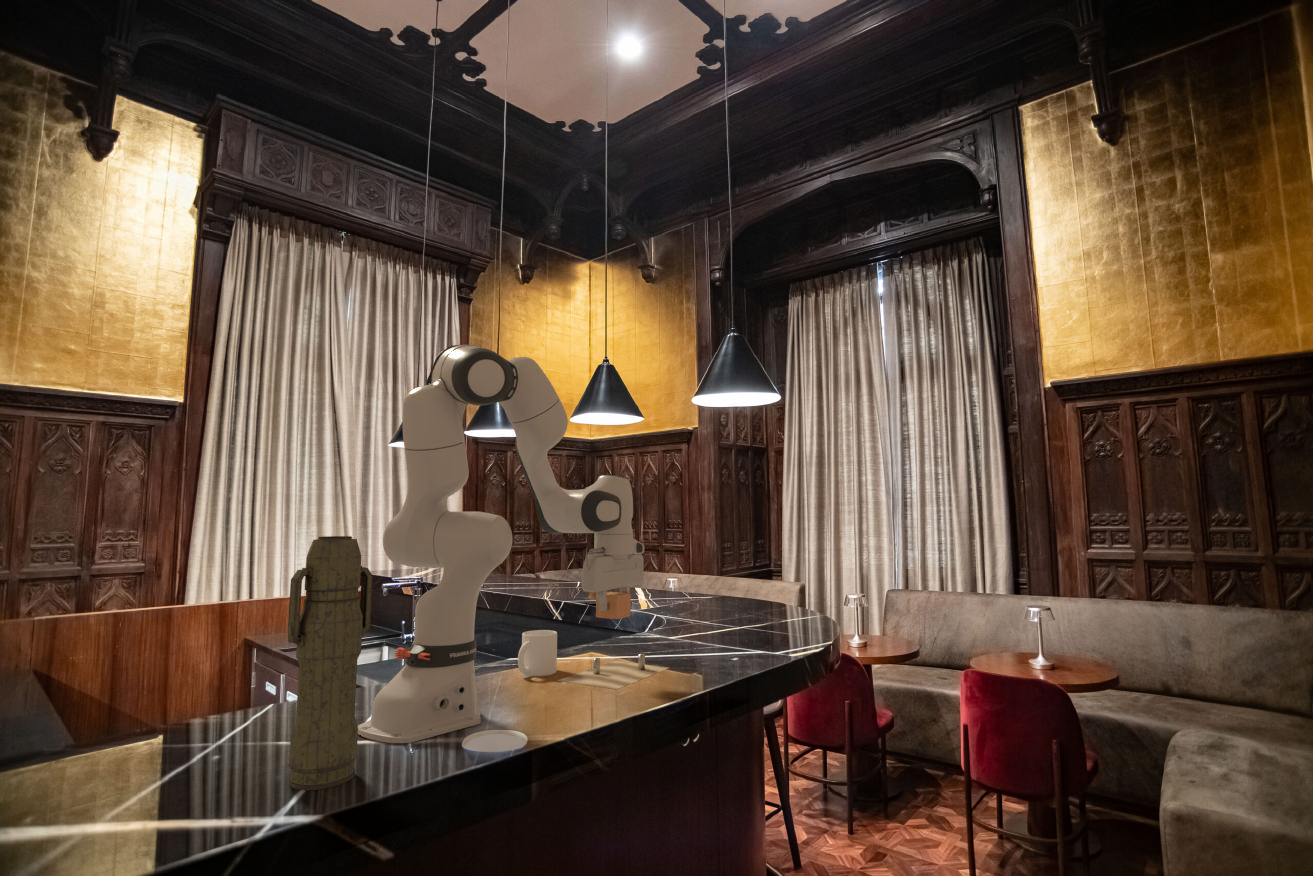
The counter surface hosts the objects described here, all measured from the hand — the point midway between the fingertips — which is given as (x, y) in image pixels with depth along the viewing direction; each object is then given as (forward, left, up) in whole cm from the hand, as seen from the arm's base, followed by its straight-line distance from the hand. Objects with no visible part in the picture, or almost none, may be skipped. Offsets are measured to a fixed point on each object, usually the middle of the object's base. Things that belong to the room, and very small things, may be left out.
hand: (613, 608), depth 153 cm
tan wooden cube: (0, 0, -2) cm, 2 cm away
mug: (-2, +21, -18) cm, 28 cm away
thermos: (-65, +8, -18) cm, 67 cm away
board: (+7, +4, -17) cm, 19 cm away
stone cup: (+120, +88, -18) cm, 150 cm away
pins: (+10, +5, -16) cm, 20 cm away
